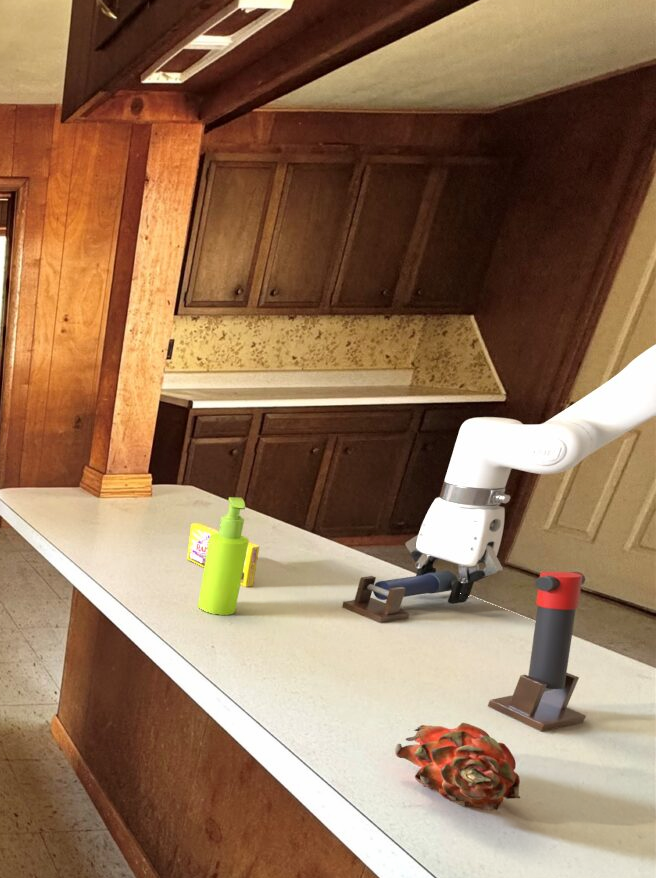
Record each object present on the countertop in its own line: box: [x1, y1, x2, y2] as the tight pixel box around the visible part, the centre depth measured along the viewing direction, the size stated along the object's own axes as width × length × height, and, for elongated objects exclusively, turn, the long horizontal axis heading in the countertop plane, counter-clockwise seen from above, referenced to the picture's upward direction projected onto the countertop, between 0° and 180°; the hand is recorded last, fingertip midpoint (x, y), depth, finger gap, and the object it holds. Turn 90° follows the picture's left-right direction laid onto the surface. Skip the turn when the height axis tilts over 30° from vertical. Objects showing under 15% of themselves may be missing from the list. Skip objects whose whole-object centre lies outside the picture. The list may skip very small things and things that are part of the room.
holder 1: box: [341, 575, 411, 624], centre depth 112 cm, size 6×7×6 cm
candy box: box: [186, 522, 261, 588], centre depth 131 cm, size 16×2×8 cm, turn 14°
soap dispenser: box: [197, 496, 250, 616], centre depth 113 cm, size 6×7×20 cm
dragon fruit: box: [394, 722, 521, 811], centre depth 70 cm, size 8×8×12 cm
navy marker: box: [367, 570, 459, 601], centre depth 113 cm, size 15×5×4 cm, turn 104°
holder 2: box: [487, 672, 587, 732], centre depth 83 cm, size 6×7×6 cm
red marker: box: [527, 570, 586, 691], centre depth 81 cm, size 15×5×4 cm
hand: (438, 595), depth 115 cm, fingers closed on navy marker, 5 cm apart
